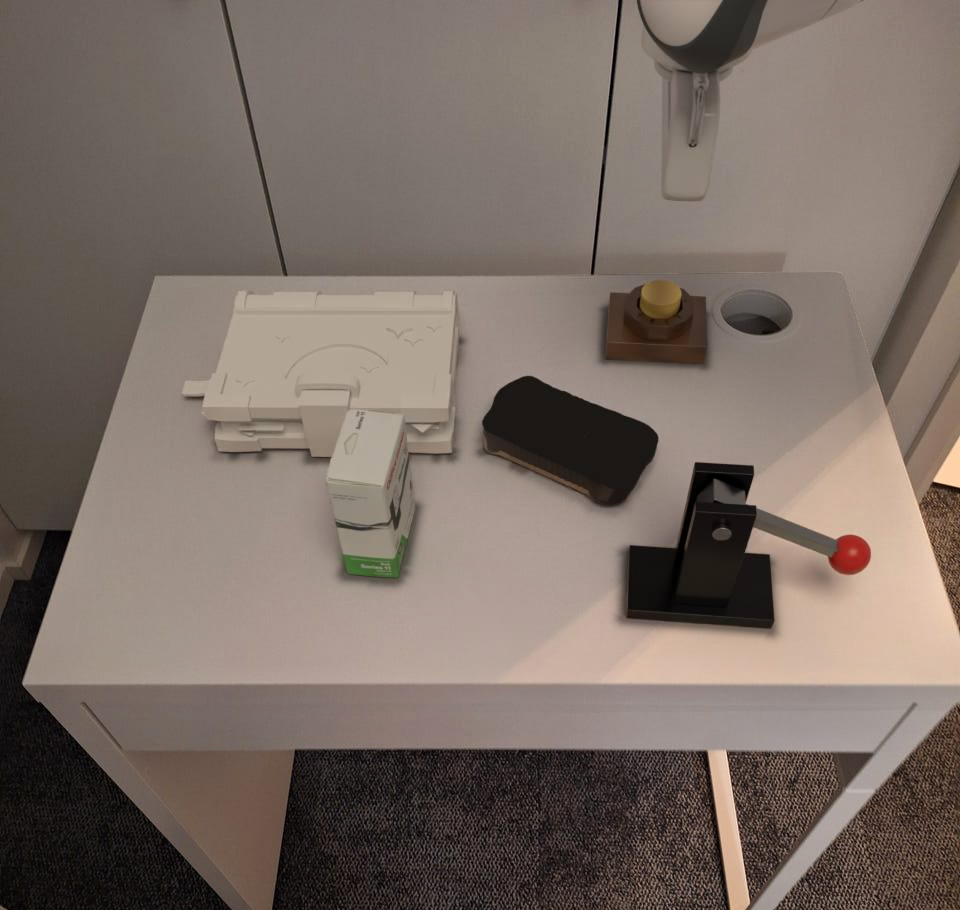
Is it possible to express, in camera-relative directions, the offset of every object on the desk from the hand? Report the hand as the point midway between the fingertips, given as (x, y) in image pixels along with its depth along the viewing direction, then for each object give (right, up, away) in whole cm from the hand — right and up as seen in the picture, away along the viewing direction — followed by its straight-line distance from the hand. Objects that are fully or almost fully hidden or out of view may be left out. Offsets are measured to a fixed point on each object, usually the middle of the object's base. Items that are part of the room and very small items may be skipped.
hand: (674, 188), depth 85 cm
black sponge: (-9, -23, +5) cm, 25 cm away
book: (-33, -16, +11) cm, 38 cm away
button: (+1, -7, +11) cm, 13 cm away
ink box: (-26, -32, 0) cm, 41 cm away
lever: (+6, -33, -11) cm, 35 cm away
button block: (+1, -9, +14) cm, 16 cm away
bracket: (+1, -36, -4) cm, 37 cm away
